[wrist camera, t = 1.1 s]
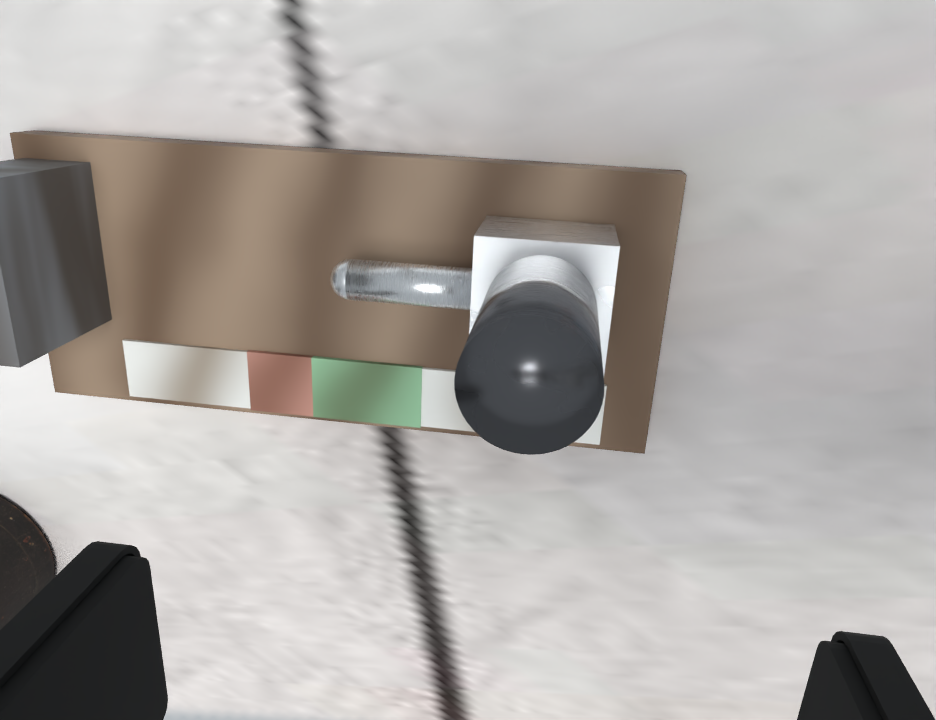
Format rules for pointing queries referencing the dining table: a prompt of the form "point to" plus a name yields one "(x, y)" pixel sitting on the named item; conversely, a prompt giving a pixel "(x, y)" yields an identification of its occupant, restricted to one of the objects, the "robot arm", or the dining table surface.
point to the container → (21, 561)
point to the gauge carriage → (517, 324)
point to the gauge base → (296, 273)
